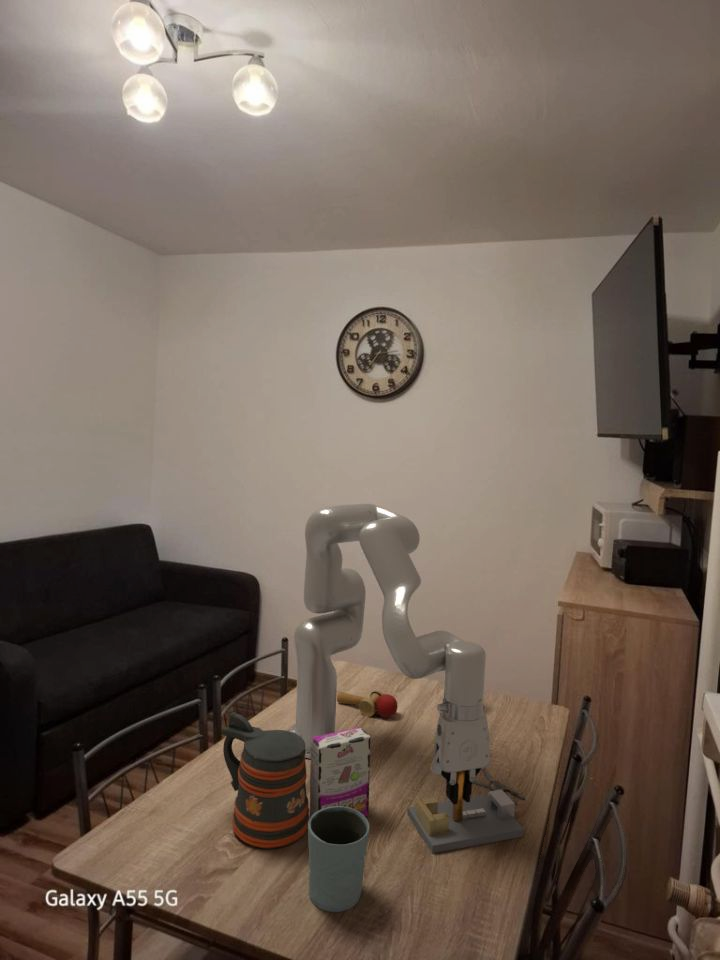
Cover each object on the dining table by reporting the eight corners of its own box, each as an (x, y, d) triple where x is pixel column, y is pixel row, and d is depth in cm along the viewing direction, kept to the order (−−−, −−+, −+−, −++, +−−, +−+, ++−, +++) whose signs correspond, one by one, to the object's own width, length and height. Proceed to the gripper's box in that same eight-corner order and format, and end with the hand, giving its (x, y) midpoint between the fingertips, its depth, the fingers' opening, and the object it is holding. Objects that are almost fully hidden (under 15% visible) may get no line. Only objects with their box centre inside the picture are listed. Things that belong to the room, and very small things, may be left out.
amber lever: (455, 822, 121) (457, 772, 120) (450, 815, 123) (453, 766, 122) (486, 816, 123) (489, 767, 123) (481, 810, 125) (484, 762, 124)
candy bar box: (357, 802, 129) (360, 725, 128) (369, 816, 125) (372, 736, 124) (307, 816, 124) (309, 736, 123) (317, 830, 120) (320, 747, 118)
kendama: (331, 713, 173) (388, 721, 164) (331, 689, 174) (388, 696, 165) (346, 708, 179) (402, 716, 170) (346, 685, 180) (402, 691, 171)
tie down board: (432, 853, 114) (432, 845, 114) (407, 814, 126) (407, 807, 126) (523, 836, 120) (523, 829, 120) (491, 800, 132) (492, 794, 132)
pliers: (459, 752, 150) (538, 784, 138) (459, 756, 150) (538, 788, 138) (437, 768, 143) (518, 804, 130) (436, 772, 143) (518, 808, 130)
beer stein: (197, 830, 119) (199, 727, 117) (240, 790, 132) (242, 698, 131) (285, 859, 112) (288, 750, 110) (321, 814, 125) (325, 716, 124)
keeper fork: (429, 836, 117) (429, 820, 117) (415, 814, 123) (415, 800, 123) (448, 832, 118) (449, 817, 118) (433, 811, 125) (434, 797, 124)
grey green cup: (318, 866, 110) (320, 800, 109) (374, 880, 107) (376, 812, 106) (296, 907, 100) (298, 835, 99) (356, 924, 97) (359, 850, 97)
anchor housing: (500, 820, 123) (501, 805, 122) (487, 805, 127) (488, 791, 127) (513, 818, 123) (514, 803, 123) (500, 803, 128) (501, 789, 128)
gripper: (433, 721, 115) (429, 817, 116) (509, 711, 120) (504, 804, 121) (417, 703, 122) (413, 794, 123) (489, 695, 127) (484, 783, 128)
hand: (458, 798), depth 122 cm, fingers closed on amber lever, 2 cm apart
